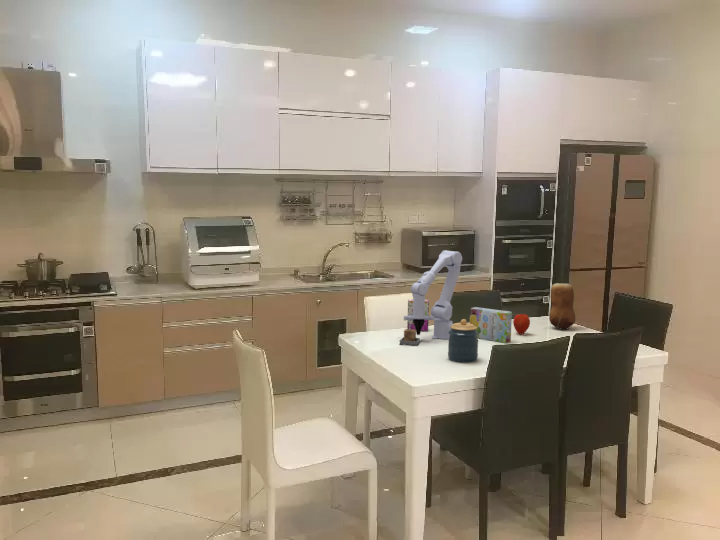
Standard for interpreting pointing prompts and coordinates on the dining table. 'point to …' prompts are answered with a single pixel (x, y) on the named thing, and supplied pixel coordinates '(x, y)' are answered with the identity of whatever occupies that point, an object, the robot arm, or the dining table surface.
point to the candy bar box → (410, 312)
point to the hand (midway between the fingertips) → (418, 334)
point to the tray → (410, 342)
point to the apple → (521, 323)
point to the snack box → (492, 324)
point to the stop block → (409, 335)
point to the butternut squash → (562, 306)
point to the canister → (463, 342)
